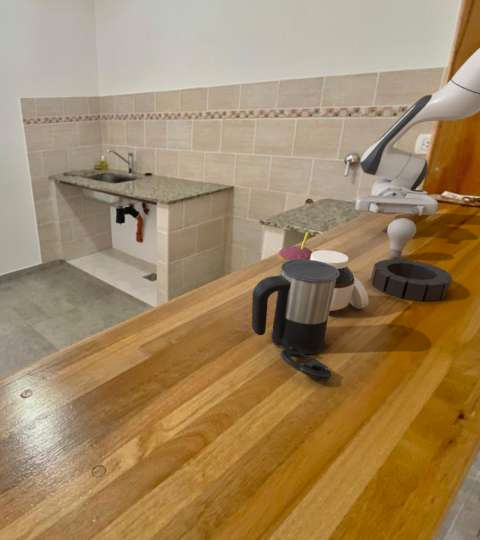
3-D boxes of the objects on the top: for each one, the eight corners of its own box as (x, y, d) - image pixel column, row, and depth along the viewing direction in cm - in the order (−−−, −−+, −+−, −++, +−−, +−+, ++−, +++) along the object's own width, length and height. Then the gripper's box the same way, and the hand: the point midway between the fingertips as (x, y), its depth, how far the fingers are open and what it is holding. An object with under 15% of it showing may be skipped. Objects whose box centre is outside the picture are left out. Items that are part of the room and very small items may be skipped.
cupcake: (313, 269, 99) (321, 225, 94) (310, 282, 92) (317, 236, 87) (278, 264, 103) (284, 221, 98) (272, 276, 97) (278, 231, 92)
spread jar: (288, 301, 85) (295, 252, 80) (322, 288, 89) (331, 241, 85) (338, 326, 75) (350, 272, 70) (374, 310, 80) (387, 258, 75)
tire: (436, 278, 91) (441, 263, 89) (453, 306, 79) (459, 288, 78) (368, 270, 96) (371, 256, 95) (374, 295, 85) (378, 279, 83)
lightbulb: (385, 262, 101) (395, 222, 96) (377, 253, 106) (386, 215, 101) (412, 263, 99) (423, 222, 95) (402, 254, 104) (412, 215, 100)
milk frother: (298, 322, 77) (309, 254, 71) (371, 368, 63) (391, 289, 57) (240, 340, 73) (246, 270, 66) (304, 393, 59) (319, 311, 53)
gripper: (354, 188, 123) (358, 198, 112) (433, 191, 115) (445, 203, 103) (351, 207, 126) (354, 219, 114) (427, 211, 117) (438, 225, 106)
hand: (398, 211), depth 109 cm, fingers open, 8 cm apart
